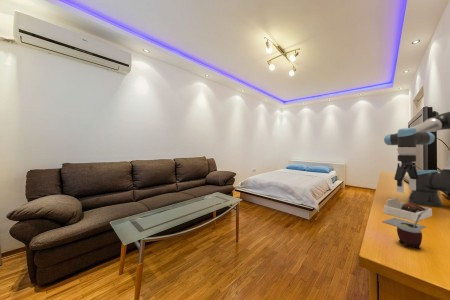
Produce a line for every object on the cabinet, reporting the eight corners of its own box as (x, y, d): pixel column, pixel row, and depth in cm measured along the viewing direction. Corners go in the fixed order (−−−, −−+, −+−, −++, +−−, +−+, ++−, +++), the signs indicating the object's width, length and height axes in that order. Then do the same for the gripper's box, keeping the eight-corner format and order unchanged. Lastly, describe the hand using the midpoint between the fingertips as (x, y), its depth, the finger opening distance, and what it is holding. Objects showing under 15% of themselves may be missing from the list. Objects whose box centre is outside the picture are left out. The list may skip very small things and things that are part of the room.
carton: (399, 208, 111) (399, 197, 111) (432, 216, 98) (432, 203, 98) (383, 212, 104) (383, 200, 104) (416, 221, 91) (415, 207, 91)
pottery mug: (397, 210, 107) (406, 199, 106) (418, 221, 101) (427, 210, 100) (399, 211, 99) (408, 200, 97) (421, 223, 92) (431, 211, 91)
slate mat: (394, 218, 96) (394, 217, 96) (425, 227, 85) (425, 226, 85) (382, 221, 92) (382, 221, 92) (413, 231, 81) (413, 231, 81)
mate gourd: (393, 242, 72) (393, 206, 72) (402, 238, 75) (402, 204, 75) (419, 252, 65) (418, 212, 65) (428, 247, 68) (428, 209, 68)
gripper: (409, 154, 109) (408, 187, 109) (386, 154, 100) (386, 191, 100) (426, 154, 102) (426, 190, 102) (403, 155, 93) (403, 194, 93)
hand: (406, 190), depth 101 cm, fingers open, 13 cm apart
